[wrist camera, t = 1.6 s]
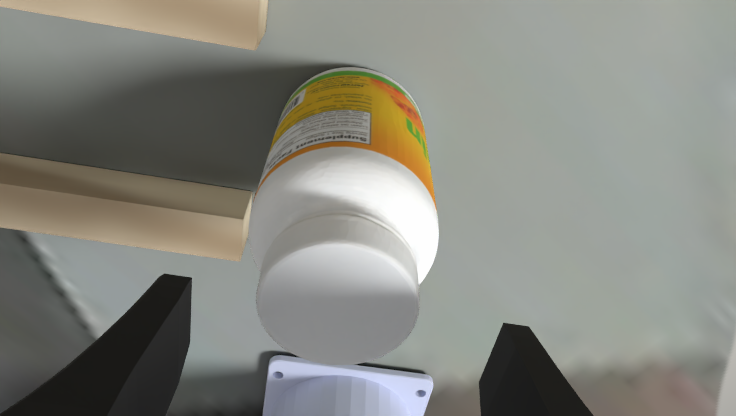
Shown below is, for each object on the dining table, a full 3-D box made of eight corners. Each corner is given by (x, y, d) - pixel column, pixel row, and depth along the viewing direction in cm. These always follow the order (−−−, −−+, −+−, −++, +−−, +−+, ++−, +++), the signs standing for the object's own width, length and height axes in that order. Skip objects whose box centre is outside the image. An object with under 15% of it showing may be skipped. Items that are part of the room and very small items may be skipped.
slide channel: (249, 231, 25) (240, 261, 24) (-104, 179, 24) (-141, 207, 22) (270, -30, 20) (260, -15, 18) (-190, -114, 18) (-247, -107, 17)
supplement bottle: (432, 182, 24) (461, 373, 16) (299, 203, 24) (261, 397, 16) (412, 50, 21) (435, 199, 13) (262, 77, 22) (194, 236, 13)
